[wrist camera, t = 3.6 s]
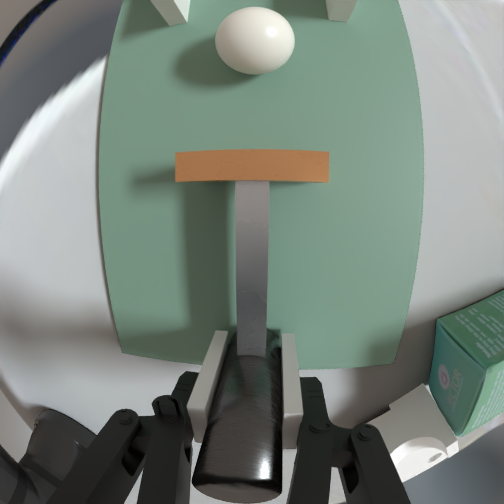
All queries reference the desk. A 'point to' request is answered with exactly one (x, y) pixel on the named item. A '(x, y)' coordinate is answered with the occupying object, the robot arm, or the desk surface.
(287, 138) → the pitch
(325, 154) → the small squeegee
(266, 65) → the ball
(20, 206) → the desk surface
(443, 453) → the bracket
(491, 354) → the box
